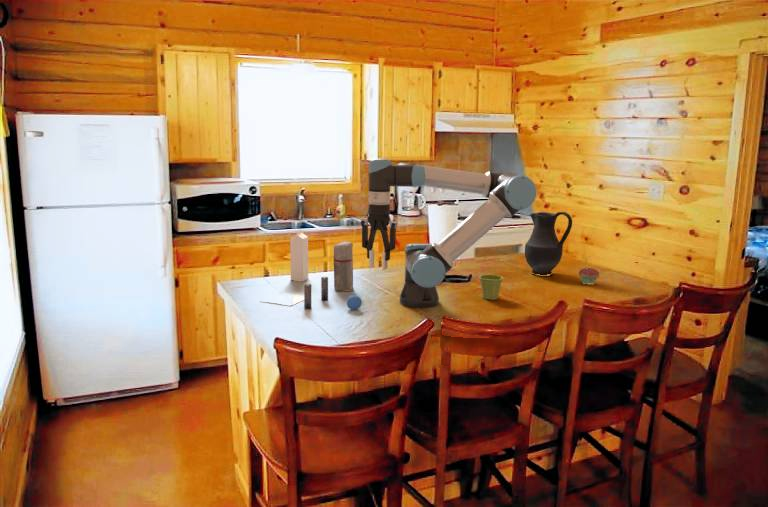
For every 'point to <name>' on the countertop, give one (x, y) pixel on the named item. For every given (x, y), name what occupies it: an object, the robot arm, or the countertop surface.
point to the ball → (354, 302)
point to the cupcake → (588, 274)
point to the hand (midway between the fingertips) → (378, 268)
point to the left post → (307, 296)
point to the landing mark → (297, 299)
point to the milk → (299, 256)
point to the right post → (324, 288)
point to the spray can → (343, 266)
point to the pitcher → (545, 243)
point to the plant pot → (490, 286)
